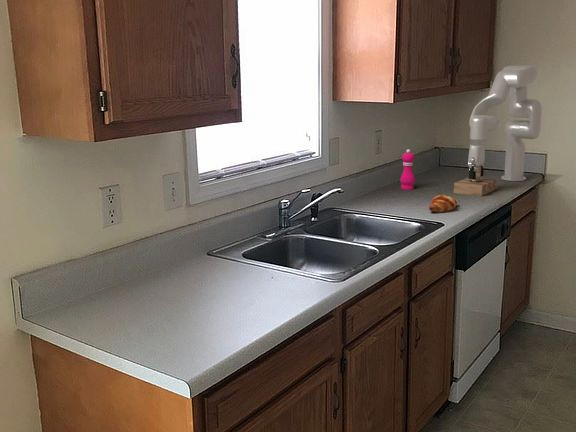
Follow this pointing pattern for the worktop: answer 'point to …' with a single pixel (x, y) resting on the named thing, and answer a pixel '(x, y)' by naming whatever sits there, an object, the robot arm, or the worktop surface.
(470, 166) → the robot arm
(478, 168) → the peg
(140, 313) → the worktop surface
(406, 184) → the pepper mill
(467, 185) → the board
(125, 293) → the worktop surface
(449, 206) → the croissant
